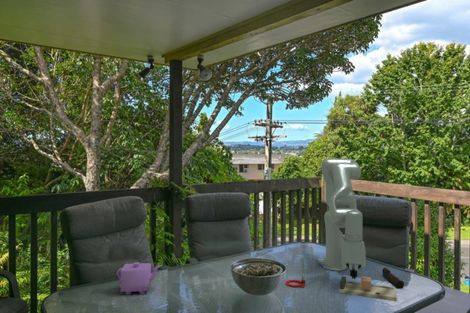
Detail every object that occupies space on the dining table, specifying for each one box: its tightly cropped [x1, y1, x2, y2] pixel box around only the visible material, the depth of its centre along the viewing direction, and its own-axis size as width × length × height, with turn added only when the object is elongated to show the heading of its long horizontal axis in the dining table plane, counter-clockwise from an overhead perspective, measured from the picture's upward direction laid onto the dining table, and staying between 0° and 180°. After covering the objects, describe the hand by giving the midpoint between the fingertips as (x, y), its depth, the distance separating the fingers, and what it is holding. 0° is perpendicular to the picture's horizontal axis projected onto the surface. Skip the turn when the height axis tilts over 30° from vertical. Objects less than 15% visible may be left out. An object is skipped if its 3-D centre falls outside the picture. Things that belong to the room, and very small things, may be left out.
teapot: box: [116, 261, 163, 295], centre depth 161 cm, size 20×10×13 cm, turn 97°
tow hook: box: [285, 257, 307, 288], centre depth 170 cm, size 8×13×9 cm
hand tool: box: [382, 267, 405, 290], centre depth 175 cm, size 19×4×5 cm, turn 178°
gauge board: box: [337, 276, 398, 302], centre depth 161 cm, size 24×12×4 cm, turn 67°
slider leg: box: [360, 275, 372, 291], centre depth 161 cm, size 4×7×4 cm, turn 157°
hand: (353, 278), depth 163 cm, fingers closed
